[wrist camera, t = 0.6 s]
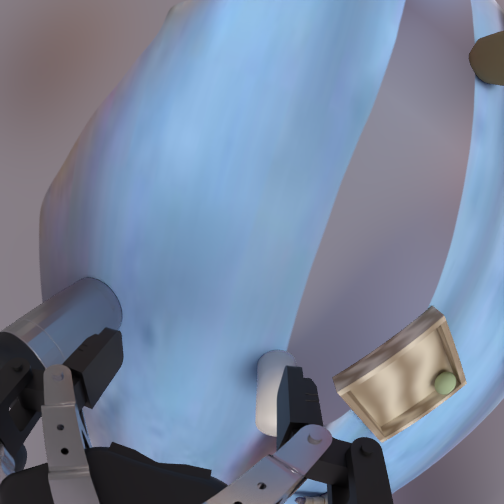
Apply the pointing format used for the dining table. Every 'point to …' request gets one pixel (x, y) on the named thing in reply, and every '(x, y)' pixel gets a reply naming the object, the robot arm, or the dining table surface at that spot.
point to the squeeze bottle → (489, 58)
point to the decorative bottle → (313, 499)
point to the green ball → (445, 383)
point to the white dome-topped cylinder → (270, 388)
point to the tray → (402, 376)
